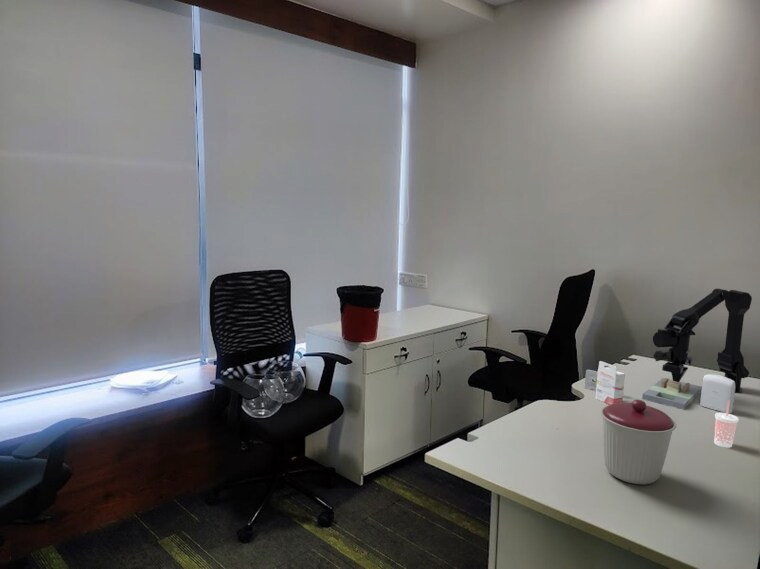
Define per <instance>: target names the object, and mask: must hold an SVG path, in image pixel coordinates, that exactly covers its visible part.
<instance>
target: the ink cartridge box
mask: <svg viewBox="0 0 760 569" xmlns="http://www.w3.org/2000/svg"><path fill="white" fill-rule="evenodd" d="M597 372H598V374H597V385H596V391H595V397H594V398H595V399H596V400H597V401H601V402H602V403H605V404H606V405H611V404H614V403H623V402H624V401H623V400H624V388H625V379H626V374H625V373H624V372H621V371H618V367H617V366H615V365H613V364H610V363H607V362H605V361H601V360H599V362H598V369H597Z"/></svg>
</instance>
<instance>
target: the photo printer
mask: <svg viewBox="0 0 760 569" xmlns="http://www.w3.org/2000/svg"><path fill="white" fill-rule="evenodd" d="M701 387H702V390H701V392H700V402H699V406H700V407H703V408H704V407H705V408H707V409H709V410H710V409H711V410H715V411H718V412H720V413H726V412H727V404H728V401H730V404H729V411H728V414H732V413H733V410H734V402H735V400H734V399H735V393H736V392H735V382H734V381H733V380H731V379H729V378H726V377H724V376H723V375H720V374H704V376H703V379H702V384H701Z"/></svg>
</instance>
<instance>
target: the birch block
mask: <svg viewBox="0 0 760 569" xmlns="http://www.w3.org/2000/svg"><path fill="white" fill-rule="evenodd" d="M671 380H672V379H671ZM671 380H670V381H668V382H667V388H666V390H668V391H672V392H676V393H678V392H679V391H680V390H681V383H680V382H681V381H680V382H676V381H671Z"/></svg>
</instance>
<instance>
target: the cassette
mask: <svg viewBox="0 0 760 569" xmlns="http://www.w3.org/2000/svg"><path fill="white" fill-rule="evenodd" d="M597 374H598V370H597V371H596V370H591V369H586V370H585V378H584V389H586V390H588V391H593V392H596V385H597Z"/></svg>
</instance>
